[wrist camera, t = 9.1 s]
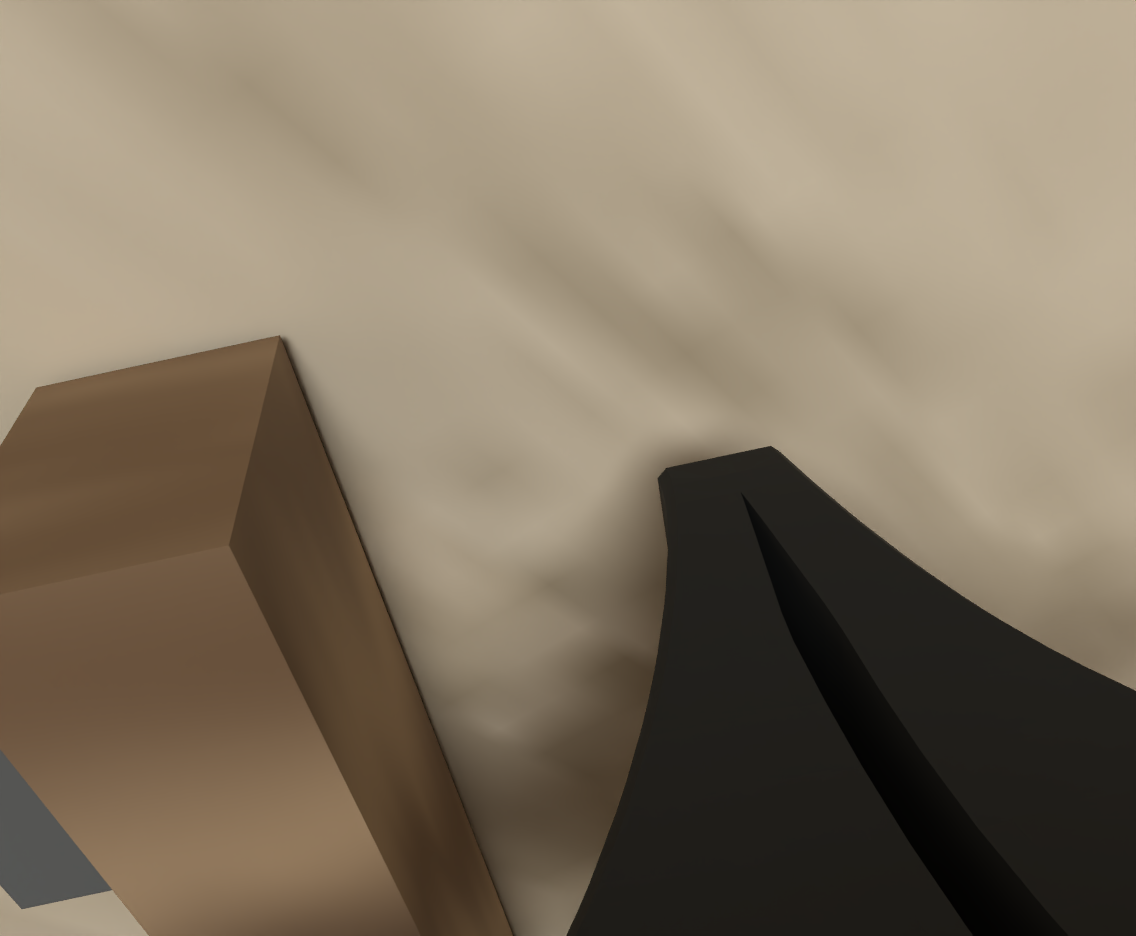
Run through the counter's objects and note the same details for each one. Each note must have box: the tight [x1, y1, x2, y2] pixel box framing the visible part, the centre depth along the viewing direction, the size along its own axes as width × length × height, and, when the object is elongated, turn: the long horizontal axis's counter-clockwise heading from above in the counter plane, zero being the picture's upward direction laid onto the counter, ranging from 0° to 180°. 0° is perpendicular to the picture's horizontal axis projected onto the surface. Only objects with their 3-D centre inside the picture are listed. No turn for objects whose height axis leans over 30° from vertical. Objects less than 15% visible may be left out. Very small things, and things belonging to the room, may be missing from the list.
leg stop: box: [0, 750, 112, 909], centre depth 13 cm, size 2×5×3 cm, turn 10°
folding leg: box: [0, 335, 513, 936], centre depth 15 cm, size 17×3×4 cm, turn 10°
